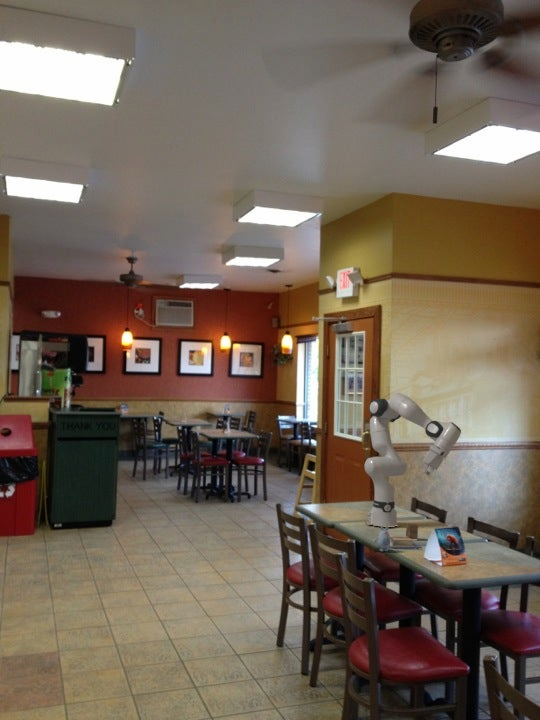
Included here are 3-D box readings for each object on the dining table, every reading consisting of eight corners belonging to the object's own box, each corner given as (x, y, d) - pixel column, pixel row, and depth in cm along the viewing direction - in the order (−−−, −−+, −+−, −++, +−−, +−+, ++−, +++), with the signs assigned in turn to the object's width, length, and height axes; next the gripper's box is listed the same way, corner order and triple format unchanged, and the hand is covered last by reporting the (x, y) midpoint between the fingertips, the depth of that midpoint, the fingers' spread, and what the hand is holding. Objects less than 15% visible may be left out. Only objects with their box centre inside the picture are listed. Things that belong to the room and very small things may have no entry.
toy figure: (375, 552, 312) (376, 527, 313) (370, 549, 318) (371, 524, 319) (396, 552, 314) (397, 527, 315) (391, 549, 320) (392, 524, 321)
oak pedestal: (385, 540, 333) (386, 534, 333) (404, 541, 335) (404, 534, 335) (393, 545, 323) (393, 539, 323) (412, 546, 325) (412, 539, 325)
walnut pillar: (405, 538, 346) (406, 523, 346) (413, 538, 347) (414, 523, 347) (409, 540, 341) (409, 524, 342) (417, 540, 342) (418, 525, 342)
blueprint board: (379, 541, 337) (379, 538, 337) (409, 541, 340) (409, 539, 340) (390, 548, 321) (390, 546, 321) (421, 549, 324) (421, 546, 324)
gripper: (438, 451, 354) (424, 472, 354) (430, 444, 337) (415, 467, 337) (448, 457, 351) (434, 479, 351) (440, 451, 333) (425, 474, 334)
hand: (424, 473), depth 344 cm, fingers open, 8 cm apart
